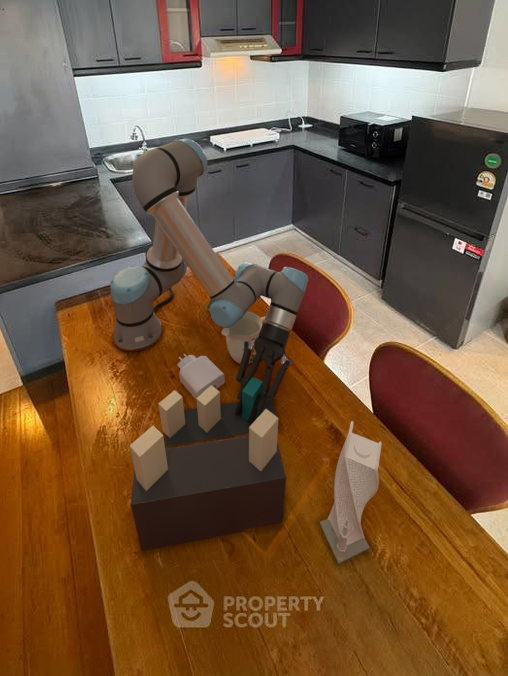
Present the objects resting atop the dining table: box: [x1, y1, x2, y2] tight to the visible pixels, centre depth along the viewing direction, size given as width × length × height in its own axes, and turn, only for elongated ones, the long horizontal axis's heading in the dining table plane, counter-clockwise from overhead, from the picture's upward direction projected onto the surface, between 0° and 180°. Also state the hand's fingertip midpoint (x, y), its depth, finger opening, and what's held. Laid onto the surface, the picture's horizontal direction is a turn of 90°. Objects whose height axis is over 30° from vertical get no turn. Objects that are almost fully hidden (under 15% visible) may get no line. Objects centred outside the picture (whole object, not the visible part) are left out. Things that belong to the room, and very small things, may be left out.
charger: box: [176, 353, 226, 401], centre depth 109 cm, size 5×9×15 cm
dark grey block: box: [158, 385, 280, 447], centre depth 95 cm, size 9×29×11 cm, turn 99°
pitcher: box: [221, 311, 266, 365], centre depth 114 cm, size 11×18×14 cm, turn 129°
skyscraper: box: [319, 420, 383, 565], centre depth 70 cm, size 8×8×28 cm
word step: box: [129, 409, 287, 552], centre depth 74 cm, size 9×28×26 cm, turn 99°
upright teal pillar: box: [242, 376, 263, 421], centre depth 96 cm, size 3×5×10 cm, turn 149°
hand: (244, 418), depth 94 cm, fingers closed on upright teal pillar, 3 cm apart
